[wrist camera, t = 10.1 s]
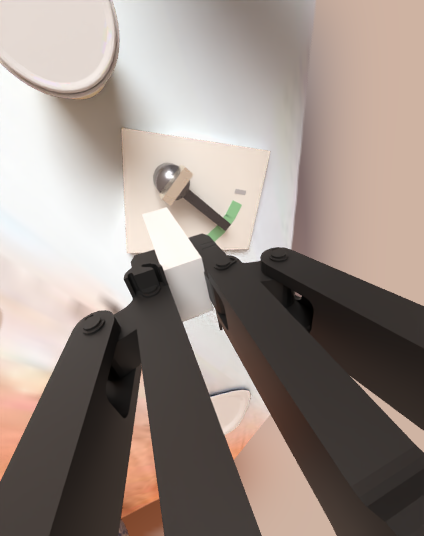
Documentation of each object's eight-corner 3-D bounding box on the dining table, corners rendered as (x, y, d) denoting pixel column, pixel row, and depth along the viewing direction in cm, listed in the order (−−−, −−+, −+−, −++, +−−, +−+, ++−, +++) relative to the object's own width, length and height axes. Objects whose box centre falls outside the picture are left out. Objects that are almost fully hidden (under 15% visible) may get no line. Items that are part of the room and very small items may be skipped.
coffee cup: (129, 97, 29) (139, 81, 19) (50, 117, 27) (18, 111, 17) (89, -16, 23) (76, -119, 14) (-12, 0, 22) (-108, -103, 12)
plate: (254, 381, 73) (257, 385, 72) (236, 426, 85) (238, 431, 83) (175, 400, 63) (177, 406, 62) (167, 449, 75) (168, 455, 73)
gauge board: (121, 127, 30) (121, 127, 28) (265, 150, 38) (270, 151, 37) (126, 257, 38) (127, 262, 37) (243, 252, 47) (247, 256, 45)
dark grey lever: (145, 183, 32) (151, 191, 28) (166, 154, 31) (175, 157, 27) (212, 232, 40) (224, 245, 36) (229, 210, 39) (244, 220, 35)
